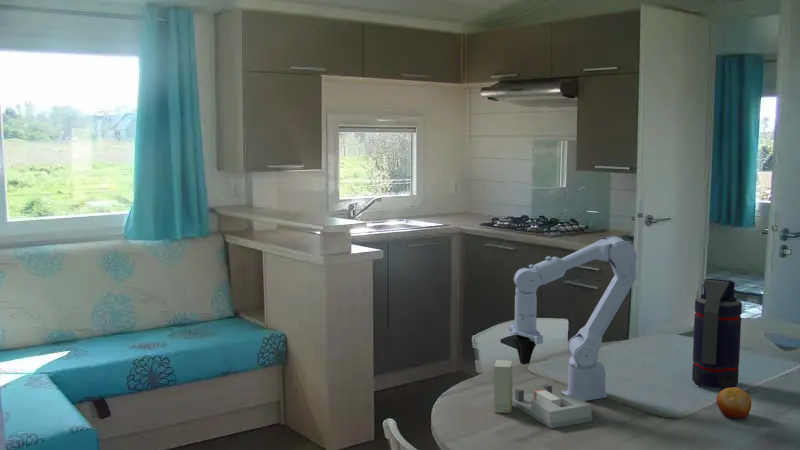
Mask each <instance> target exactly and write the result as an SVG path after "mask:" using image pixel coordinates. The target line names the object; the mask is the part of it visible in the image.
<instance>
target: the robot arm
mask: <svg viewBox="0 0 800 450" xmlns="http://www.w3.org/2000/svg"><path fill="white" fill-rule="evenodd" d="M637 259H638V255H637V253H636V250H635V248H634V246H633V244H632V243H631V242H629V241H627V240H624V239H623V238H622V237H620V236H618V235H611V236H608V237H606V238H602V239H599V240H597V241H595V242H593V243H591V244H589V245H586V246H584V247H582V248H581V249H578V250H576V251H575V252H572V253H570V254H568V255H566V256H563V257H562V258H561V257H558V256H552V257H551V256H550V255H548V256H546V257H545V258H544V260H542V261H540V262H538V263H535V264H533V263H532V264H528V267H529V268H527V267H522V268H519V269H518V270H517V271H516V272H515V274H514V277H512V279H513V283H514V284H515V295H514V323H509V324H508V332H510V334H512V335H516V336H513V337H511V338H512V339H511V340H512V341H513V343H514V345H515V348H516V350H517V355H518V358H519V363H520V364H521V365H529V364H530V363H531V359H532V356H533V351H534V350H535V348H536V346H537V345H541V344H542V345H543V344H544V336H543V335H541V334H540V332H539V331H538V329H537V313H538V312H537V307H538V306H537V304H538V303H537V302H538V301H537V300H538V299H537V290H538V288H539V287H540V286H543V285H546V284H549V283H551V282H553V281H555V280H558V279H560V278H563V277H564V276H565V274H566V271H568V270H569V269H572V268H575V267H578V266H580V265H583V264H586V263H589V262H591V261H594V260H597V261H603V262H609V263H610V266H611V269H612V272H613V275H614V276H613V277H612V279H611V281H610V282H609V284H608V286H607V287H606V288H605V291H604V292H603V294H602V296H601V297H600V300H599V301H598V303H597V304H596V306H595V308H594V310H593V311H592V313H591V315H590V317H589V318H588V320H587V322H586V323H585V325H584V326H582V327H581V328H580V329H579V330H578V332H577V333H576V334H575V335H574V336H572V337H571V338H570V339H569V341H568V342H567V350H568V352H569V354H570V355H571V356H570V357H569V360H568V361H567V362H568V369H567V370H568V372H567V374H568V375H567V390H566V389H565V390H561V391H560V392H561V394H562V395H568V394H573V395H575V396H576V397H578V398H580V399H582V400H584V401H586V402H587V401H592V400H593V401H594V400H598V399H605V398H607V397H608V395H607V394H606V379H607V378H606V376H607V374H606V369H605V367H604V365H603V363H601V362H599V361H598V359H599V350H600V349H601V346H602V342H603V336H604V335H605V332H606V331H607V329H608V327H609V326H610V324H611V322H612V321H613V319H614V317H615V316H616V314H617V312H618V310H619V309H620V307H621V305H622V304H623V302H624V300H625V299H626V297H627V295H628V293H629V291H630V290H631V288H632V287H633V285H634V283H635V282H636V280H637V279H636V278H637Z"/></svg>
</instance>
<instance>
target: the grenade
mask: <svg viewBox="0 0 800 450" xmlns="http://www.w3.org/2000/svg"><path fill="white" fill-rule="evenodd" d="M735 285H736V283H735V281H733V280H730V279H728V280H727V279H719V278H704V279H703V283H701V284H700V286H699V287H698V289H697V291H696V295H695V297H696V298H695V300H694V312H695V313H694V318H693V319H694V321H693V342H692V343H693V347H692V348H693V349H692V362H693V363H692V369H691V380H692V381H693V382H694V385H695V384H696V385H698V386H700V387H701V386H703V387H708V388H714V389H720V391H722V390H723V389H726V388H732V387H737V386H738V384H739V370H740V369H739V367H740V352H741V330H742V329H741V327H742V326H741V325H742V317H741V316H742V310H743V304H742V301H740V300H738V299H737V297H735ZM701 287H702V288H701ZM700 289H701V291H700ZM699 292H700V293H699ZM702 292H703V293H702Z"/></svg>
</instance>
